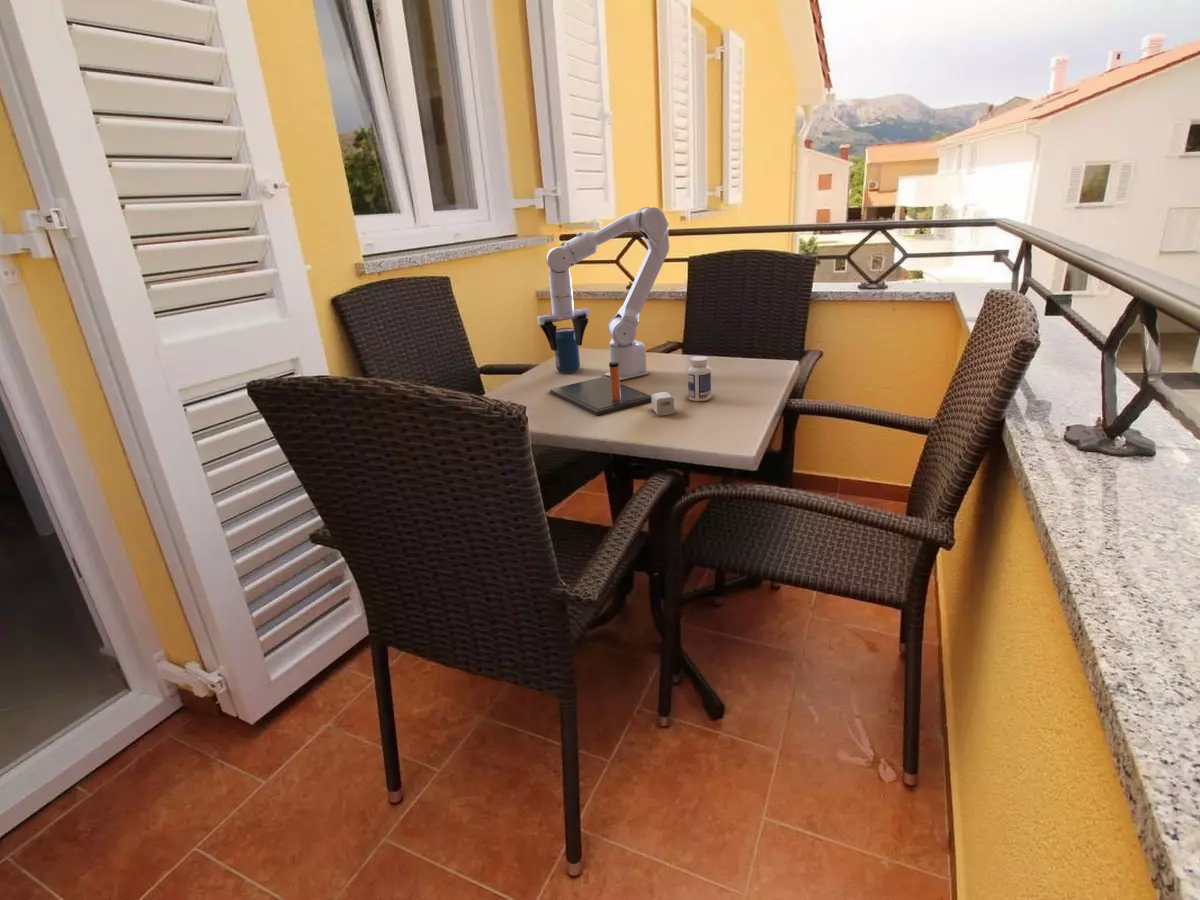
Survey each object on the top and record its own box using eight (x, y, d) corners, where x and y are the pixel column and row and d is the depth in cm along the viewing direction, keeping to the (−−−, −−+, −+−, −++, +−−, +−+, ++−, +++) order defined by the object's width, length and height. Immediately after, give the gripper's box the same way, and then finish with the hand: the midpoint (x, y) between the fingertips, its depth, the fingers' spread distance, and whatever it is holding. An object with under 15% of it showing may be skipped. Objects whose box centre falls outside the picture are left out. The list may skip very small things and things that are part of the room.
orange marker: (615, 397, 151) (612, 361, 147) (622, 398, 150) (620, 362, 146) (609, 400, 149) (607, 363, 146) (617, 401, 148) (615, 364, 144)
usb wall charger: (657, 416, 140) (656, 399, 138) (648, 407, 146) (648, 390, 144) (674, 413, 140) (673, 396, 139) (665, 404, 147) (664, 388, 145)
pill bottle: (712, 395, 151) (712, 355, 147) (709, 402, 146) (708, 361, 142) (690, 394, 152) (690, 355, 149) (686, 401, 148) (685, 361, 144)
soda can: (585, 368, 182) (581, 327, 178) (571, 374, 177) (567, 332, 173) (565, 366, 186) (561, 326, 181) (551, 372, 181) (547, 331, 176)
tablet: (602, 380, 169) (602, 376, 169) (654, 400, 150) (654, 396, 150) (550, 392, 162) (549, 388, 162) (597, 415, 143) (596, 411, 142)
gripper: (543, 301, 156) (549, 354, 161) (593, 293, 163) (597, 344, 168) (531, 298, 162) (537, 350, 167) (580, 291, 168) (584, 341, 173)
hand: (566, 347), depth 168 cm, fingers open, 7 cm apart
